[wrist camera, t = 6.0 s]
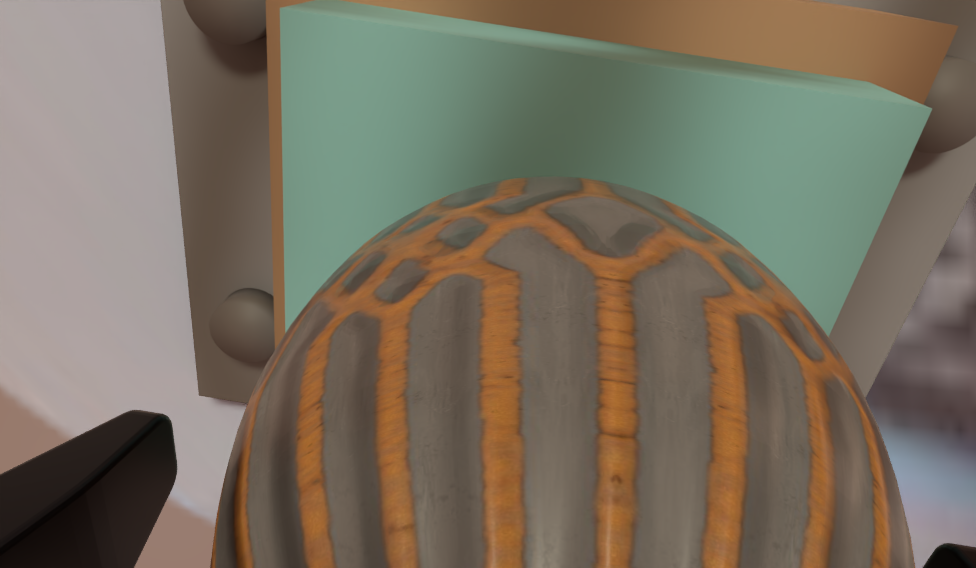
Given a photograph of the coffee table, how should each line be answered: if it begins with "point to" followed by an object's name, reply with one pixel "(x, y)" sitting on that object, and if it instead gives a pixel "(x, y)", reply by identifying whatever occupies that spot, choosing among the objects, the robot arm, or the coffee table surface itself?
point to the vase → (557, 403)
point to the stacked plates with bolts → (567, 139)
